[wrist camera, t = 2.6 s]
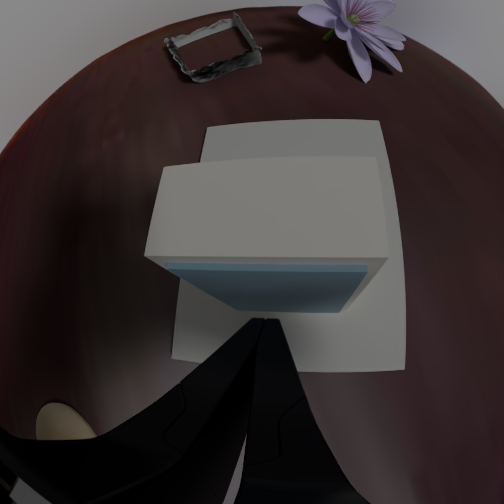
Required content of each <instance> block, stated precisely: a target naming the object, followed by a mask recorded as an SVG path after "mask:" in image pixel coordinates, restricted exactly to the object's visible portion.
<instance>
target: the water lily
mask: <svg viewBox="0 0 504 504" xmlns="http://www.w3.org/2000/svg"><path fill="white" fill-rule="evenodd" d="M324 1H325V3H326V4H327V5H328V6H329V7H330V8H331V9H332V10H331V9H329V8H327V7H325V6H322V5H318V4H310V5H306V6H304V7H302V8H301V9H300V10H299V12H298V14H299V15H300V16H301V17H302V18H304V19H305V20H307V21H309V22H311V23H313V24H315V25H318V26H321V27H325V28H333V29H332V30H331V31H329V32H328V33H327V34H326V35H325V36H324V37H323V40H324V41H328V40H329V39H330V38H331V37H332V36H333V35H334V34H335V33H336V35H337V36H338V37H339V38H340V39H342V40H345V41H346V44H347V48H348V51H349V54H350V57H351V59H352V62H353V64H354V66H355V68H356V70H357V72H358V73H359V75H360V77H361V78H362V80H363V81H364V82H365V83H367V81H369V80H370V77H371V72H372V68H371V61H370V58H369V55H368V52H367V50H366V49H365V47H364V45H363V43H362V41H363V42H364V43H365V44H366V45H367V46H368V47H369V48H370V49H371V50H372V51H373V52H374V53H375V54H377V55H378V56H379V57H380V58H381V59H383V60H384V61H385V62H387V63H388V64H389V65H391V66H392V67H394V68H395V69H397V70H398V71H400V72H402V68H401V65H400V63H399V61H398V60H397V58H396V57H395V56H394V54H393V53H392V52H391V51H390V50H389V49H388V48H387V47H386V46H388V47H390V48H393V49H396V50H402V49H404V48H403V47H404V45H403V43H402V42H401V41H406V38H405V37H404V36H403V35H402V34H401V33H399V32H398V31H396V30H394V29H392V28H390V27H387V26H383V25H379V24H372V23H365V22H379V21H373V20H378V19H381V18H383V17H386V16H388V15H390V14H391V13H392V12H393V11H394V9H395V6H396V5H395V4H394V3H393V2H392V0H367V1H365V2H364V3H363V4H362V5H361V3H362V1H363V0H324ZM360 5H361V6H360ZM358 7H359V8H358ZM333 10H334V11H335V12H334V11H333ZM358 36H359V37H358ZM360 39H361V40H362V41H361V40H360Z"/></svg>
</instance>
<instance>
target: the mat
mask: <svg viewBox="0 0 504 504" xmlns="http://www.w3.org/2000/svg"><path fill="white" fill-rule="evenodd" d="M296 156H360V157H376V161H377V166H378V172H379V177H380V183H381V190H382V196H383V204H384V211H385V219H386V228H387V238H388V249H389V258H388V260H387V261H386V262H385V264H384V265H383V266H382V267H381V269H380V270H379V271H378V273H377V274H376V275H375V276H374V278H373V279H372V280H371V281H370V283H369V284H368V285H367V286H366V288H365V289H364V290H363V291H362V292H361V294H360V295H359V296H358V297H357V298H356V300H355V301H354V302H353V303H352V304H351V305H350V307H349V308H348V309H347V310H346V311H345V312H339V313H296V312H264V311H243V310H236V309H233V308H232V307H230V306H228V305H226V304H224V303H223V302H221V301H219V300H217V299H216V298H214V297H212V296H210V295H209V294H207V293H205V292H203V291H202V290H200V289H198V288H197V287H195V286H193V285H191V284H190V283H188V282H186V281H185V280H183V279H181V278H180V285H179V293H178V301H177V309H176V318H175V327H174V337H173V348H172V359H177V360H184V361H190V362H197V363H202V362H203V361H205V360H206V359H207V358H208V357H209V356H210V355H211V354H212V353H214V352H215V351H216V350H217V349H218V348H219V347H220V346H221V345H223V344H224V343H225V342H226V341H227V340H228V339H229V338H230V337H231V336H232V335H234V334H235V333H236V332H237V331H238V330H239V329H240V328H241V327H242V326H243V325H244V324H245V323H247V322H248V321H249V320H250V319H251V318H254V317H255V318H265V320H266V319H267V318H278V319H279V320H280V322H281V325H282V327H283V330H284V333H285V336H286V339H287V342H288V345H289V348H290V351H291V353H292V356H293V359H294V362H295V365H296V368H297V371H301V372H369V371H390V370H404V369H405V349H406V302H405V280H404V265H403V253H402V243H401V234H400V226H399V218H398V211H397V205H396V198H395V192H394V187H393V181H392V176H391V171H390V166H389V161H388V156H387V152H386V148H385V143H384V139H383V135H382V131H381V127H380V124H379V121H373V120H346V119H309V120H282V121H265V122H252V123H241V124H232V125H223V126H214V127H208V128H207V132H206V136H205V141H204V146H203V150H202V155H201V160H200V163H203V162H213V161H224V160H237V159H251V158H270V157H296Z"/></svg>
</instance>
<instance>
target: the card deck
mask: <svg viewBox="0 0 504 504" xmlns="http://www.w3.org/2000/svg"><path fill="white" fill-rule="evenodd" d="M144 256H145V257H147V258H149V259H150V260H152V261H153V262H155V263H157V264H158V265H160V266H161V267H163V268H165V269H166V270H168V271H170V272H171V273H173V274H175V275H176V276H178V277H180V278H181V279H183V280H185V281H186V282H188V283H190V284H191V285H193V286H195V287H197V288H198V289H200V290H202V291H203V292H205V293H207V294H209V295H210V296H212V297H214V298H216V299H217V300H219V301H221V302H223V303H224V304H226V305H228V306H230V307H232V308H233V309H236V310H243V311H264V312H296V313H339V312H345V311H346V310H347V309H348V308H349V307H350V305H351V304H352V303H353V302H354V301H355V300H356V298H357V297H358V296H359V295H360V294H361V292H362V291H363V290H364V289H365V288H366V286H367V285H368V284H369V283H370V281H371V280H372V279H373V278H374V276H375V275H376V274H377V273H378V271H379V270H380V269H381V267H382V266H383V265H384V264H385V262H386V261H387V260H388V258H389V249H388V238H387V228H386V219H385V211H384V204H383V196H382V190H381V183H380V177H379V172H378V166H377V161H376V157H360V156H296V157H270V158H251V159H237V160H224V161H213V162H203V163H193V164H185V165H176V166H169V167H164V169H163V173H162V177H161V181H160V185H159V189H158V193H157V197H156V201H155V206H154V210H153V214H152V219H151V224H150V228H149V233H148V238H147V243H146V248H145V254H144Z"/></svg>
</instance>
